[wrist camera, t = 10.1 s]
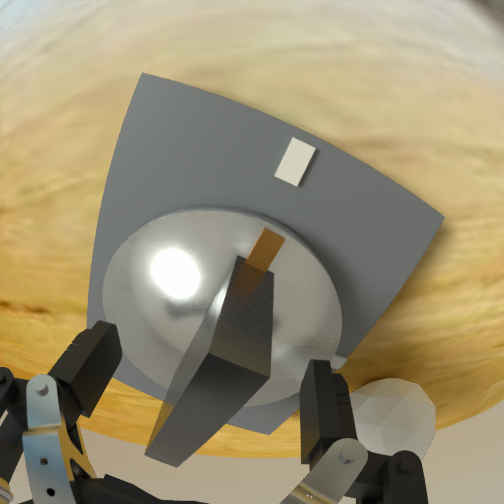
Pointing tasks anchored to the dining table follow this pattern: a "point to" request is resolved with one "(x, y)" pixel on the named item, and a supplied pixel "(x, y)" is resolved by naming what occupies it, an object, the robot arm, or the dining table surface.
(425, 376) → the dining table surface
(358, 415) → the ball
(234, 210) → the dial knob
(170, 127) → the dial panel
